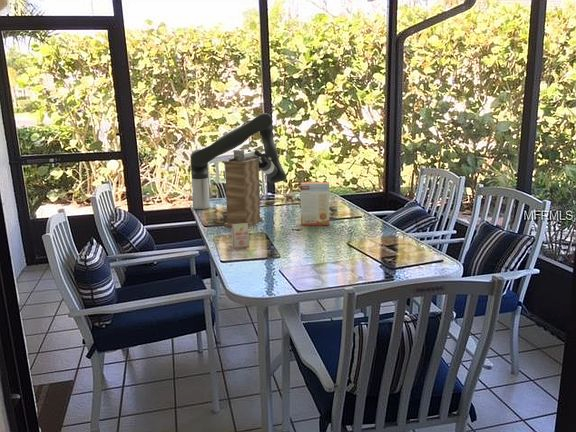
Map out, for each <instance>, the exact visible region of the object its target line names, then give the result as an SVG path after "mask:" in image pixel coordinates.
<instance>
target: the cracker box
mask: <svg viewBox="0 0 576 432" xmlns="http://www.w3.org/2000/svg"><path fill="white" fill-rule="evenodd" d="M300 225H301V226H329V225H330V182H329V181H328V182H325V181H324V182H321V181H320V182H319V181H314V182H313V181H305V182H304V181H302V182H301V183H300Z"/></svg>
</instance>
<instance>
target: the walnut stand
mask: <svg viewBox="0 0 576 432" xmlns="http://www.w3.org/2000/svg"><path fill="white" fill-rule="evenodd" d="M259 161H260V158H255V156H250V157H246V158H242V159H238V161H234V157H232V158H228V160H225V161H224V162H223V164H224V167H225V169H224V170H225V172H224V173H225V195H226V197H225V198H226V222H225V223H224V227H226V228H232V224H243V223H248V229H249V228H250V227H253V226H255V225H256V224H259V223H260V222H262V221H263V220H264V219H263V217H261V213H260V212H261V209H260V208H261V207H260V205H261V204H260V197H261V196H260V169H259Z"/></svg>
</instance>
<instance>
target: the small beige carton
mask: <svg viewBox="0 0 576 432" xmlns="http://www.w3.org/2000/svg"><path fill="white" fill-rule="evenodd" d="M230 232H231V235H230V236H231V247H232V249H239V248H238V247H244V248H250V234H249V228H248V223H243V224H232V227H231V231H230Z"/></svg>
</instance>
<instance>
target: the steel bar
mask: <svg viewBox="0 0 576 432" xmlns="http://www.w3.org/2000/svg"><path fill="white" fill-rule="evenodd" d="M255 150H256V149H254V150H251V151H248V150H247V151H245V150H244V149H235V150H233V158H234V161H238V159H242V158H246V157H250V156H255V157H258V156H257V155H256V154H255ZM257 150H258V151H259V152H260V153H262V152H261V150H260V149H257Z"/></svg>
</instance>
